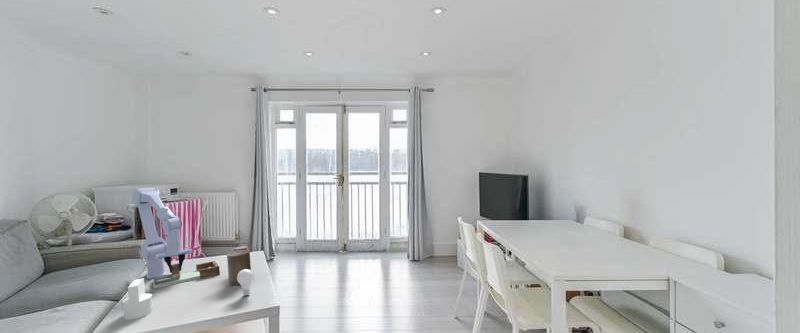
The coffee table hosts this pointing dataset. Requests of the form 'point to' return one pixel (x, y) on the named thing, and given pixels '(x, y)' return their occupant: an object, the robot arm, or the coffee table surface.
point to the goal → (208, 269)
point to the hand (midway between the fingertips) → (175, 271)
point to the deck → (180, 279)
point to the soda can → (241, 248)
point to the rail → (165, 279)
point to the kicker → (175, 270)
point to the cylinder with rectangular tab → (137, 301)
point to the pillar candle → (237, 264)
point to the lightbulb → (245, 280)
